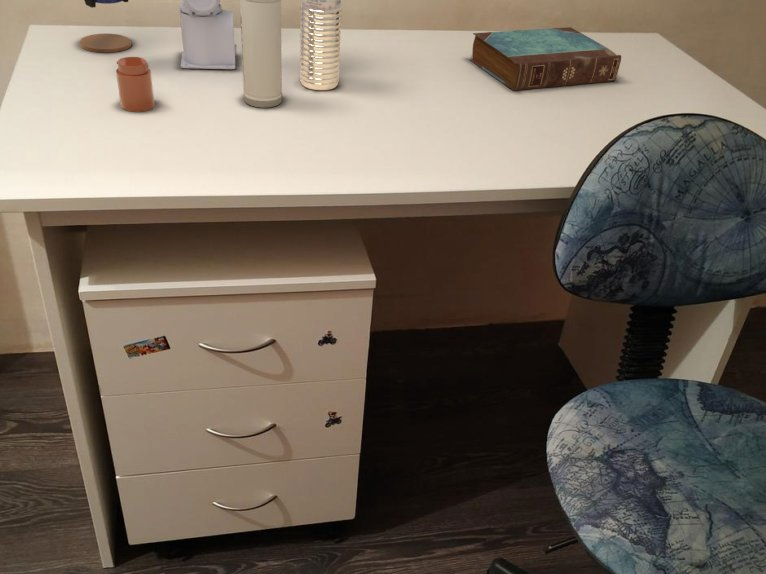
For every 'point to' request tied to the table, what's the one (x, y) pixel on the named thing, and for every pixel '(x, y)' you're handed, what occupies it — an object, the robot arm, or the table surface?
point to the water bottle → (320, 43)
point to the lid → (108, 1)
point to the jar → (135, 84)
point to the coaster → (105, 43)
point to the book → (544, 58)
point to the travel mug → (261, 52)
